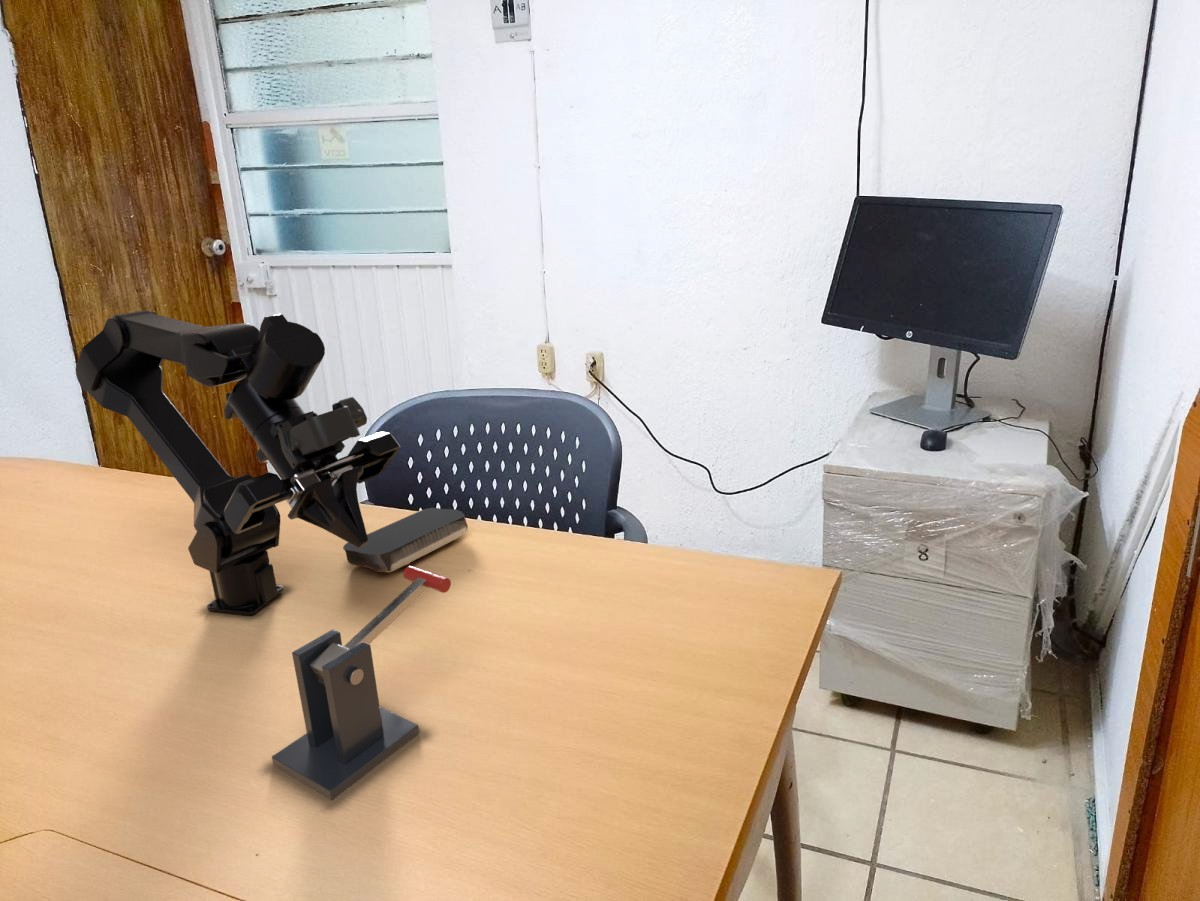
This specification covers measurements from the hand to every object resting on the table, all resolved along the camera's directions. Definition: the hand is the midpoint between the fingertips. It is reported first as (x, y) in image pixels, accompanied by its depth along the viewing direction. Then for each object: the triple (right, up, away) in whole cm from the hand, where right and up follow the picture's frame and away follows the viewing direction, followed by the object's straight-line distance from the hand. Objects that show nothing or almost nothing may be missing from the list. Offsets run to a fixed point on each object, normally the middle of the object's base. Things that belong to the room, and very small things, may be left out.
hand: (363, 544), depth 84 cm
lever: (+4, -7, -8) cm, 11 cm away
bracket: (+1, -18, -9) cm, 20 cm away
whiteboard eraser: (-2, -4, +29) cm, 29 cm away
